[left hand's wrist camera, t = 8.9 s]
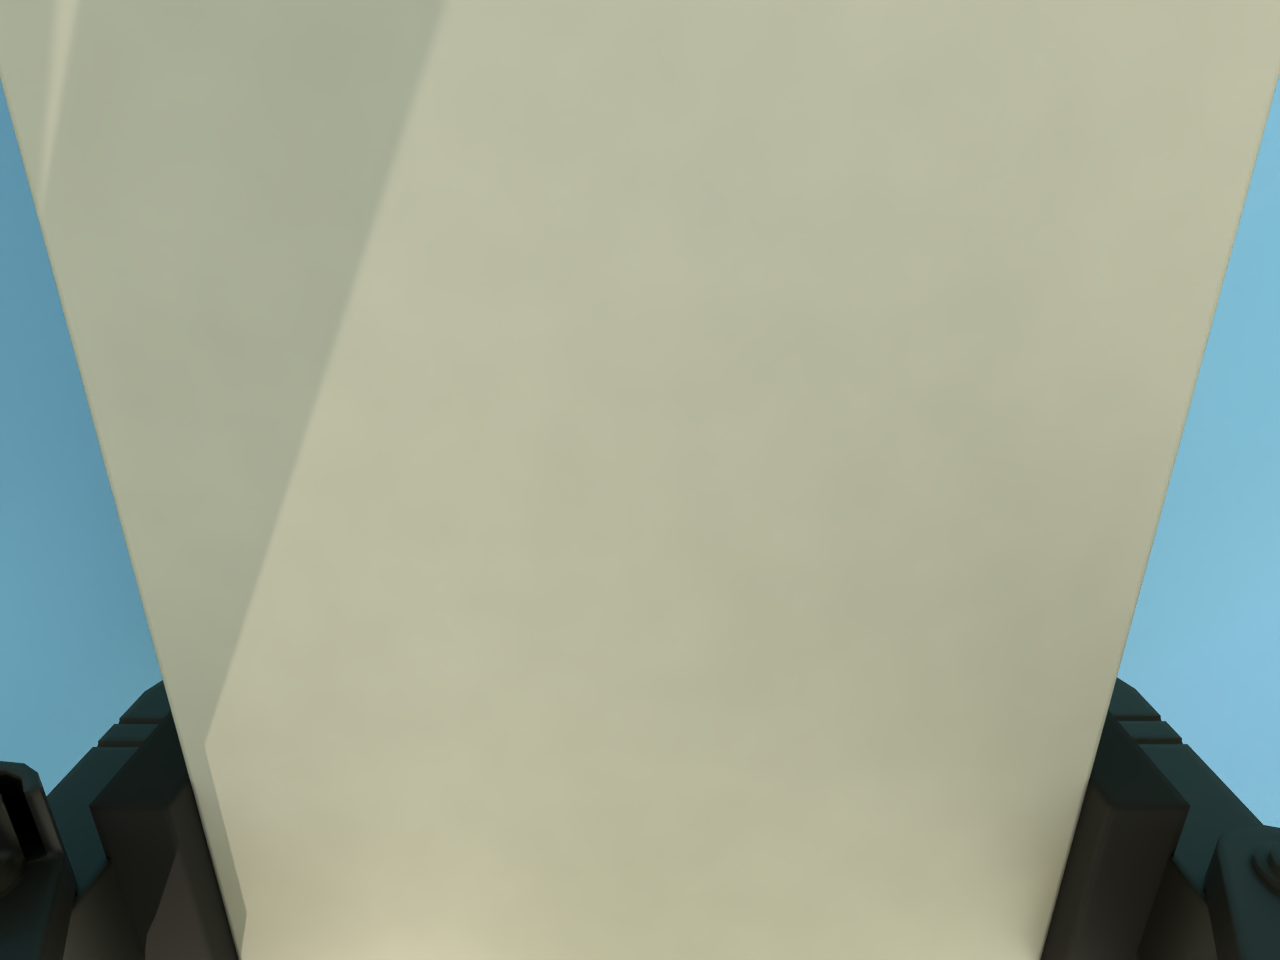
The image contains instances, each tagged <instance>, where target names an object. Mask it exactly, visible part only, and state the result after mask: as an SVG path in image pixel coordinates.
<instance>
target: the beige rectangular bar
mask: <svg viewBox="0 0 1280 960" xmlns="http://www.w3.org/2000/svg"><path fill="white" fill-rule="evenodd" d="M1279 74H1280V0H0V79H1V83H2V87H3V91H4V94H5V98H6V102H7V105H8V109H9V113H10V116H11V120H12V124H13V127H14V131H15V135H16V139H17V142H18V146H19V150H20V153H21V157H22V161H23V164H24V168H25V172H26V176H27V179H28V183H29V187H30V190H31V194H32V198H33V201H34V205H35V209H36V212H37V216H38V220H39V224H40V227H41V231H42V235H43V238H44V242H45V246H46V249H47V253H48V257H49V260H50V264H51V268H52V272H53V275H54V279H55V283H56V286H57V290H58V294H59V297H60V301H61V305H62V309H63V312H64V316H65V320H66V323H67V327H68V331H69V334H70V338H71V342H72V345H73V349H74V353H75V357H76V360H77V364H78V368H79V371H80V375H81V379H82V382H83V386H84V390H85V394H86V397H87V401H88V405H89V408H90V412H91V416H92V419H93V423H94V427H95V430H96V434H97V438H98V442H99V445H100V449H101V453H102V456H103V460H104V464H105V467H106V471H107V475H108V479H109V482H110V486H111V490H112V493H113V497H114V501H115V504H116V508H117V512H118V515H119V519H120V523H121V527H122V530H123V534H124V538H125V541H126V545H127V549H128V552H129V556H130V560H131V563H132V567H133V571H134V575H135V578H136V582H137V586H138V589H139V593H140V597H141V600H142V604H143V608H144V612H145V615H146V619H147V623H148V626H149V630H150V634H151V637H152V641H153V645H154V648H155V652H156V656H157V660H158V663H159V667H160V671H161V674H162V678H163V682H164V685H165V689H166V693H167V697H168V700H169V704H170V708H171V711H172V715H173V719H174V722H175V726H176V730H177V733H178V737H179V741H180V745H181V748H182V752H183V756H184V759H185V763H186V767H187V770H188V774H189V778H190V782H191V785H192V789H193V793H194V796H195V800H196V804H197V807H198V811H199V815H200V818H201V822H202V826H203V830H204V833H205V837H206V841H207V844H208V848H209V852H210V855H211V859H212V863H213V866H214V870H215V874H216V878H217V881H218V885H219V889H220V892H221V896H222V900H223V903H224V907H225V911H226V915H227V918H228V922H229V926H230V929H231V933H232V937H233V940H234V944H235V948H236V951H237V955H238V959H239V960H1041V956H1042V952H1043V949H1044V945H1045V941H1046V938H1047V934H1048V930H1049V926H1050V923H1051V919H1052V915H1053V912H1054V908H1055V904H1056V901H1057V897H1058V893H1059V889H1060V886H1061V882H1062V878H1063V875H1064V871H1065V867H1066V863H1067V860H1068V856H1069V852H1070V849H1071V845H1072V841H1073V837H1074V834H1075V830H1076V826H1077V823H1078V819H1079V815H1080V812H1081V808H1082V804H1083V800H1084V797H1085V793H1086V789H1087V786H1088V782H1089V778H1090V774H1091V771H1092V767H1093V763H1094V760H1095V756H1096V752H1097V748H1098V745H1099V741H1100V737H1101V734H1102V730H1103V726H1104V723H1105V719H1106V715H1107V711H1108V708H1109V704H1110V700H1111V697H1112V693H1113V689H1114V685H1115V682H1116V678H1117V674H1118V671H1119V667H1120V663H1121V659H1122V656H1123V652H1124V648H1125V645H1126V641H1127V637H1128V634H1129V630H1130V626H1131V622H1132V619H1133V615H1134V611H1135V608H1136V604H1137V600H1138V596H1139V593H1140V589H1141V585H1142V582H1143V578H1144V574H1145V570H1146V567H1147V563H1148V559H1149V556H1150V552H1151V548H1152V545H1153V541H1154V537H1155V533H1156V530H1157V526H1158V522H1159V519H1160V515H1161V511H1162V507H1163V504H1164V500H1165V496H1166V493H1167V489H1168V485H1169V481H1170V478H1171V474H1172V470H1173V467H1174V463H1175V459H1176V456H1177V452H1178V448H1179V444H1180V441H1181V437H1182V433H1183V430H1184V426H1185V422H1186V418H1187V415H1188V411H1189V407H1190V404H1191V400H1192V396H1193V392H1194V389H1195V385H1196V381H1197V378H1198V374H1199V370H1200V367H1201V363H1202V359H1203V355H1204V352H1205V348H1206V344H1207V341H1208V337H1209V333H1210V329H1211V326H1212V322H1213V318H1214V315H1215V311H1216V307H1217V303H1218V300H1219V296H1220V292H1221V289H1222V285H1223V281H1224V278H1225V274H1226V270H1227V266H1228V263H1229V259H1230V255H1231V252H1232V248H1233V244H1234V240H1235V237H1236V233H1237V229H1238V226H1239V222H1240V218H1241V214H1242V211H1243V207H1244V203H1245V200H1246V196H1247V192H1248V189H1249V185H1250V181H1251V177H1252V174H1253V170H1254V166H1255V163H1256V159H1257V155H1258V151H1259V148H1260V144H1261V140H1262V137H1263V133H1264V129H1265V125H1266V122H1267V118H1268V114H1269V111H1270V107H1271V103H1272V100H1273V96H1274V92H1275V88H1276V85H1277V81H1278V77H1279Z"/></svg>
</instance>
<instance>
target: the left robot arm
mask: <svg viewBox="0 0 1280 960" xmlns="http://www.w3.org/2000/svg"><path fill="white" fill-rule="evenodd" d="M0 960H239V959H238V955H237V951H236V948H235V944H234V940H233V937H232V933H231V929H230V926H229V922H228V918H227V915H226V911H225V907H224V903H223V900H222V896H221V892H220V889H219V885H218V881H217V878H216V874H215V870H214V866H213V863H212V859H211V855H210V852H209V848H208V844H207V841H206V837H205V833H204V830H203V826H202V822H201V818H200V815H199V811H198V807H197V804H196V800H195V796H194V793H193V789H192V785H191V782H190V778H189V774H188V770H187V767H186V763H185V759H184V756H183V752H182V748H181V745H180V741H179V737H178V733H177V730H176V726H175V722H174V719H173V715H172V711H171V708H170V704H169V700H168V697H167V693H166V689H165V685H164V682H163V680H162V681H161V682H159V683H158V684H156V685H154V686H153V687H151V688H150V689H148V690H147V691H145V692H144V693H143V694H142V695H141V696H140V697H139V698H138V699H137V700H136V702H135V703H134V704H133V705H132V706H131V707H130V708H129V709H128V710H127V711H126V712H125V713H124V714H123V715H122V716H121V718H120V721H119V724H114V725H113V726H112V727H111V728H110V729H109V730H108V731H107V733H106V734H105V735H104V736H103V737H102V738H101V739H100V740H99V741H98V746H97V747H92V749H91V750H90V751H89V752H88V753H87V754H86V755H85V756H84V757H83V758H82V759H81V760H80V761H79V762H78V763H77V765H76V766H75V767H74V768H73V769H72V770H71V771H70V772H69V773H68V774H67V775H66V776H65V777H64V778H63V780H62V781H61V782H60V783H59V784H58V785H57V786H56V787H55V788H54V789H53V790H52V791H51V792H50V793H49V794H48V796H47V797H46V794H45V792H44V789H43V786H42V783H41V781H40V778H39V775H38V773H37V772H36V771H34V770H33V769H32V768H30V767H29V766H27V765H26V764H24V763H14V762H4V761H0ZM1041 960H1280V828H1277V827H1271V826H1266V825H1263V824H1262V823H1261V822H1260V821H1259V820H1258V819H1257V818H1256V817H1255V816H1254V814H1253V813H1252V812H1251V811H1250V810H1249V809H1248V808H1247V807H1246V806H1245V805H1244V804H1243V803H1242V802H1241V801H1240V800H1239V799H1238V797H1237V796H1236V795H1235V794H1234V793H1233V792H1232V791H1231V790H1230V789H1229V788H1228V787H1227V786H1226V785H1225V784H1224V783H1223V782H1222V781H1221V779H1220V778H1219V777H1218V776H1217V775H1216V774H1215V773H1214V772H1213V771H1212V770H1211V769H1210V768H1209V767H1208V766H1207V765H1206V764H1205V762H1204V761H1203V760H1202V759H1201V758H1200V757H1199V756H1198V755H1197V754H1196V753H1195V752H1194V751H1193V750H1192V749H1191V748H1190V747H1189V745H1188V744H1183V743H1182V738H1181V737H1180V736H1179V735H1178V734H1177V733H1176V732H1175V731H1174V730H1173V729H1172V727H1171V726H1170V725H1169V724H1168V723H1167V722H1166V721H1161V716H1160V715H1159V714H1158V713H1157V712H1156V710H1155V709H1154V708H1153V707H1152V706H1151V705H1150V704H1149V703H1148V702H1147V701H1146V700H1145V699H1144V698H1143V697H1142V696H1141V695H1140V693H1139V692H1138V691H1137V690H1136V689H1134V688H1133V687H1131V686H1130V685H1128V684H1127V683H1125V682H1123V681H1122V680H1120V679H1119V678H1116V682H1115V685H1114V689H1113V693H1112V697H1111V700H1110V704H1109V708H1108V711H1107V715H1106V719H1105V723H1104V726H1103V730H1102V734H1101V737H1100V741H1099V745H1098V748H1097V752H1096V756H1095V760H1094V763H1093V767H1092V771H1091V774H1090V778H1089V782H1088V786H1087V789H1086V793H1085V797H1084V800H1083V804H1082V808H1081V812H1080V815H1079V819H1078V823H1077V826H1076V830H1075V834H1074V837H1073V841H1072V845H1071V849H1070V852H1069V856H1068V860H1067V863H1066V867H1065V871H1064V875H1063V878H1062V882H1061V886H1060V889H1059V893H1058V897H1057V901H1056V904H1055V908H1054V912H1053V915H1052V919H1051V923H1050V926H1049V930H1048V934H1047V938H1046V941H1045V945H1044V949H1043V952H1042V956H1041Z"/></svg>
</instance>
